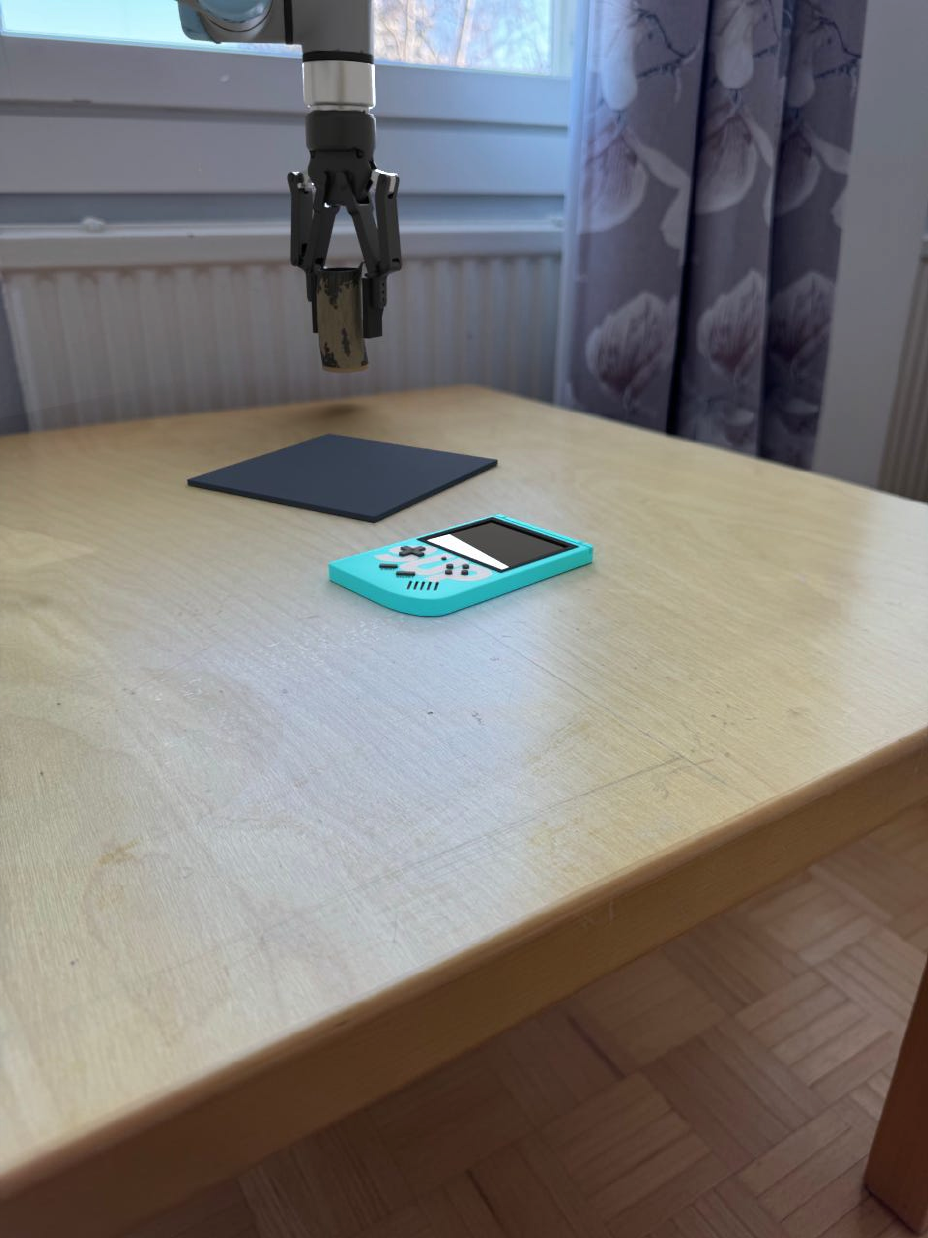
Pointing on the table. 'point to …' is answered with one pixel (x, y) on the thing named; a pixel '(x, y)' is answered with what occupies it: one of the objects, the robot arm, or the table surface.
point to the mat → (346, 476)
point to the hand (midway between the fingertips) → (347, 334)
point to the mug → (341, 320)
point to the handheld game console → (459, 565)
